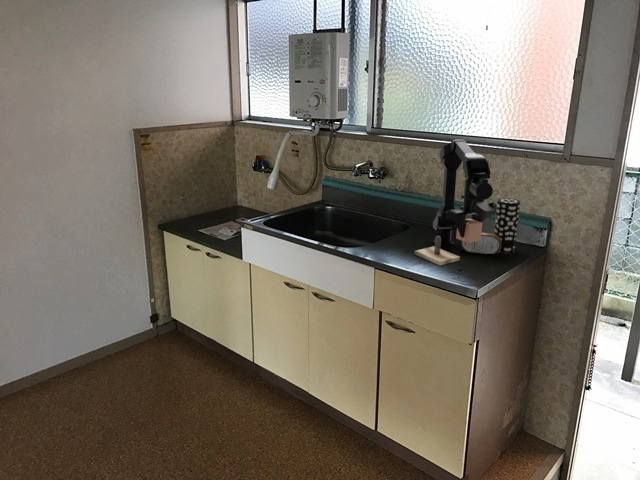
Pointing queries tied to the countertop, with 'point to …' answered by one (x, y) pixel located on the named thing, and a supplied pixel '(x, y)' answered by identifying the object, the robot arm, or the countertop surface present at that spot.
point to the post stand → (437, 254)
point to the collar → (471, 231)
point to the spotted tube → (507, 223)
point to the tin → (484, 244)
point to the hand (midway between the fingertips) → (468, 235)
